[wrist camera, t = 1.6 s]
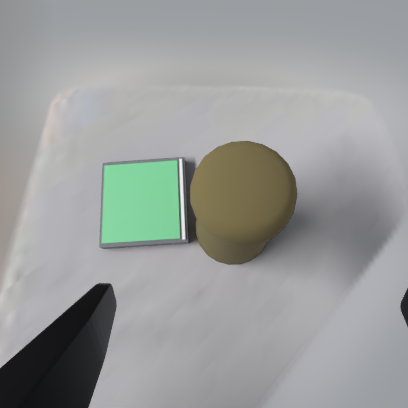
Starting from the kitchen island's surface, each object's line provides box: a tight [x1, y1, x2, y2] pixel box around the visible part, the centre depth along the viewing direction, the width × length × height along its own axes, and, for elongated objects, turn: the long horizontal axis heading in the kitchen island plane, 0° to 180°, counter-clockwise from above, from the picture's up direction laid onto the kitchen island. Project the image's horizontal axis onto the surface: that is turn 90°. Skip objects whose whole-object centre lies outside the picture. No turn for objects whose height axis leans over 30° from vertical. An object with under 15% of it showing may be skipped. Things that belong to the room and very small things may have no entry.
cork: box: [190, 141, 297, 265], centre depth 18 cm, size 6×6×11 cm
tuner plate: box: [99, 157, 189, 249], centre depth 23 cm, size 7×7×1 cm
